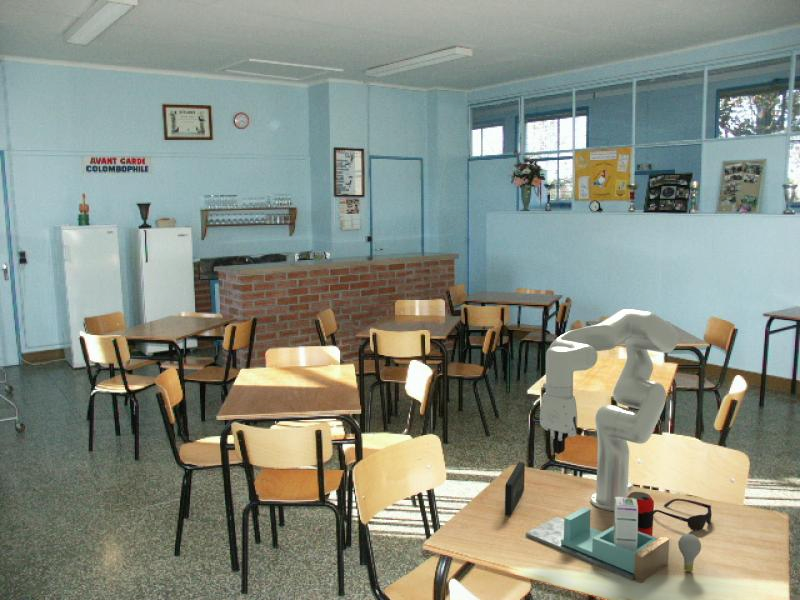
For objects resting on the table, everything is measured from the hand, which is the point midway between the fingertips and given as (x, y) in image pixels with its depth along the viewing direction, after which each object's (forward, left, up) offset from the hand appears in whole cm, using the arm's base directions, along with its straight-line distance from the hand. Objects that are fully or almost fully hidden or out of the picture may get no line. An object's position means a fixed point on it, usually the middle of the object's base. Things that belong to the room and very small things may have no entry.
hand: (558, 451), depth 208 cm
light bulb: (-5, +37, -24) cm, 45 cm away
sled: (+2, +18, -22) cm, 29 cm away
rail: (+2, +13, -24) cm, 27 cm away
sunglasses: (-33, +22, -24) cm, 46 cm away
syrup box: (+3, +23, -21) cm, 32 cm away
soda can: (-14, +18, -24) cm, 33 cm away
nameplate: (-6, -20, -24) cm, 32 cm away
